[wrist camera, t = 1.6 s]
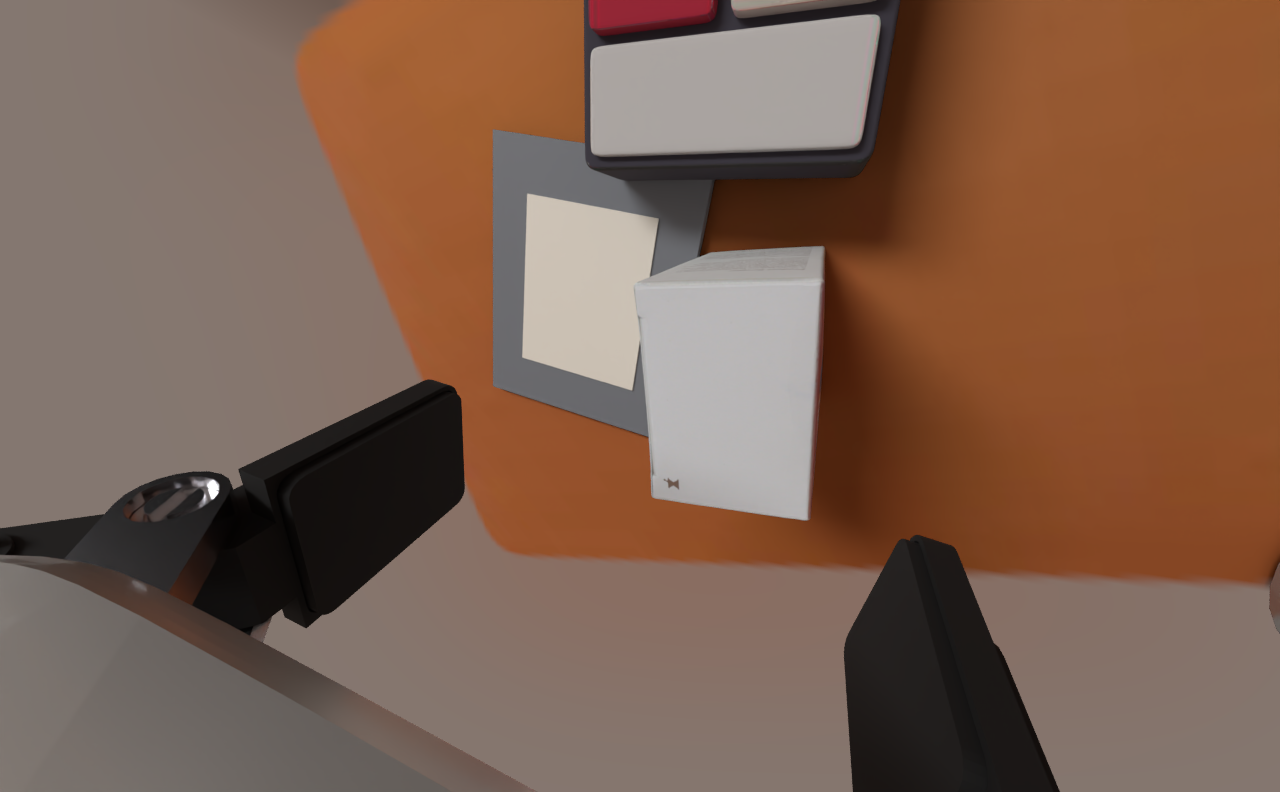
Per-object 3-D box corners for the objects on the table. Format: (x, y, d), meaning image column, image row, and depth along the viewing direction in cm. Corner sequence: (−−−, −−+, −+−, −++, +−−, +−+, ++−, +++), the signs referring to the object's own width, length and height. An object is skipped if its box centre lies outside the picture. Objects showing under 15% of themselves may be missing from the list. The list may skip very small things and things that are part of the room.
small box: (817, 403, 24) (812, 530, 15) (711, 396, 26) (649, 504, 17) (828, 241, 21) (830, 275, 12) (707, 249, 23) (629, 282, 14)
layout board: (718, 164, 21) (715, 163, 20) (663, 436, 28) (660, 441, 27) (500, 130, 24) (491, 129, 24) (498, 383, 31) (492, 386, 30)
